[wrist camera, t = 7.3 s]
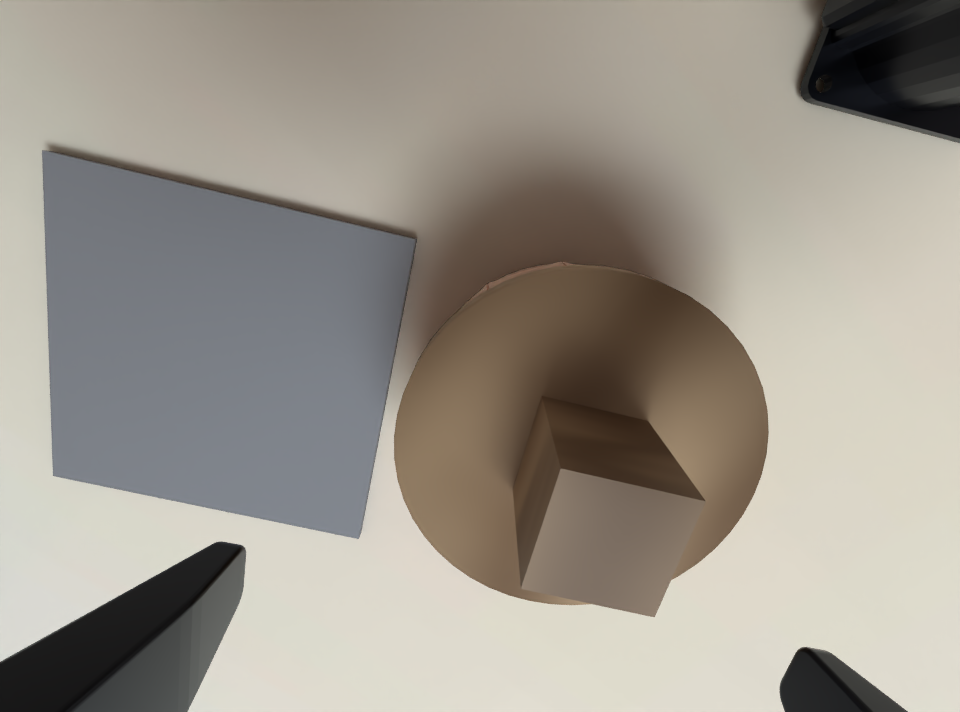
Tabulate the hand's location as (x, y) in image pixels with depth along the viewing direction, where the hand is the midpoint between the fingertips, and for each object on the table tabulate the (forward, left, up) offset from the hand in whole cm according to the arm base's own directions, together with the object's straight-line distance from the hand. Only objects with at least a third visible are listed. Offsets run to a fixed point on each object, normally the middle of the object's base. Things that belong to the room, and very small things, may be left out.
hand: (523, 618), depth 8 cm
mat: (+11, +2, -12) cm, 16 cm away
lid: (-2, 0, -8) cm, 8 cm away
